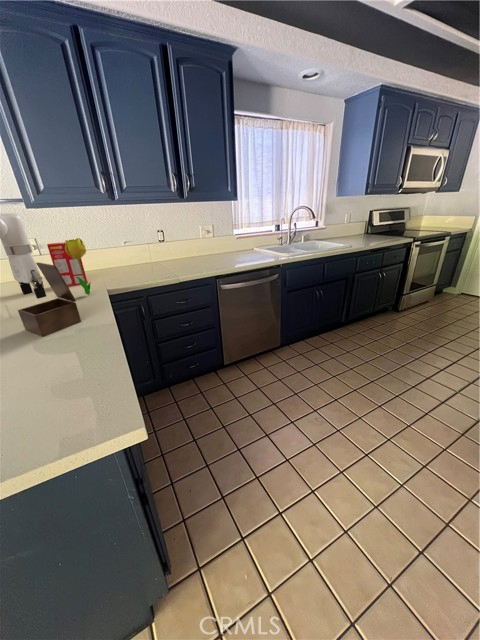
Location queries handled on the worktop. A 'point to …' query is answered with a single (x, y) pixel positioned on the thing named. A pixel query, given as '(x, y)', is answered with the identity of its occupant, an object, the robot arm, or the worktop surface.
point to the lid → (56, 281)
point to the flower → (77, 257)
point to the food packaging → (66, 264)
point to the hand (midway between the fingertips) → (34, 295)
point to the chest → (49, 316)
